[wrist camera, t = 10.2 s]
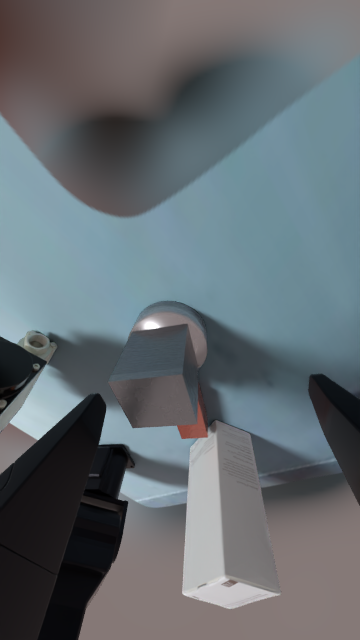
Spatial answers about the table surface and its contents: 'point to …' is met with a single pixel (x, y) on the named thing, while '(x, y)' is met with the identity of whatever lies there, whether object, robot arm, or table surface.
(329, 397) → the robot arm
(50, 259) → the table surface
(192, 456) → the skincare box
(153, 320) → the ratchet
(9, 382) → the pneumatic valve
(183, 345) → the brushed metal block
